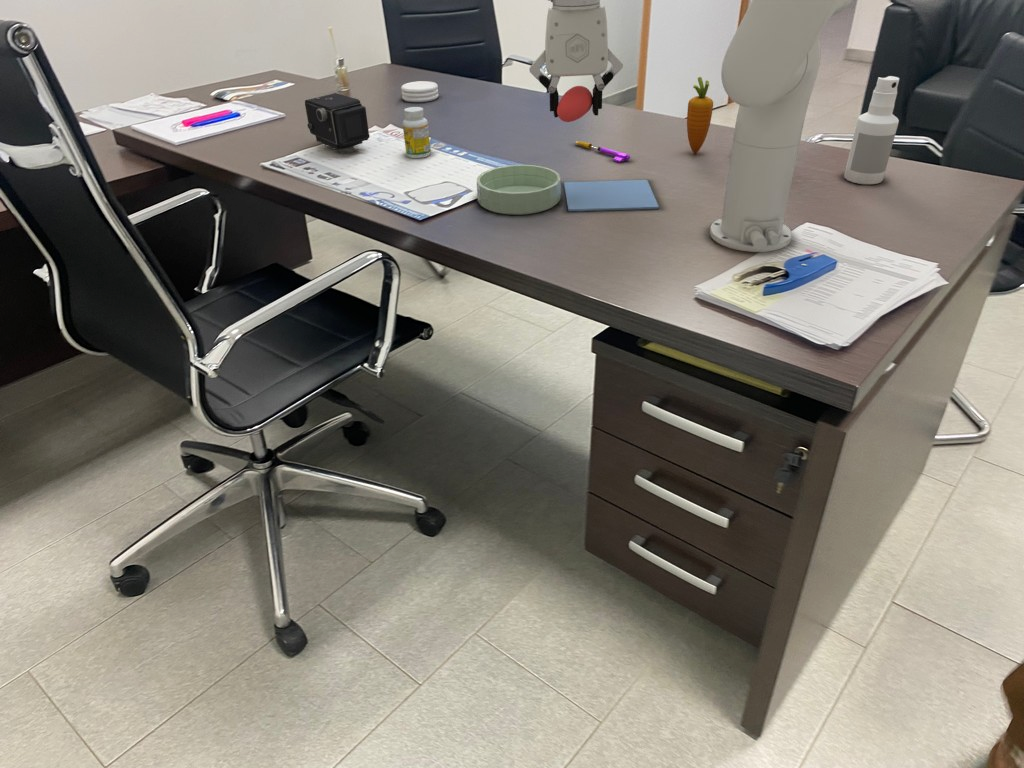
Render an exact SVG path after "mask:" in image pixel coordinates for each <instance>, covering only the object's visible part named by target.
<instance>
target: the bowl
mask: <svg viewBox="0 0 1024 768" xmlns="http://www.w3.org/2000/svg"><path fill="white" fill-rule="evenodd" d="M561 179H562V178H561V174H560V173H559V172H557V171H556V170H554V169H551V168H549V167H545V166H541V165H534V164H510V165H509V164H508V165H503V166H497V167H494V168H490V169H488V170H486V171H483V172H481V173H480V174H479V175H478V176H477V177H476V195H477V196H476V197H477V203H478V204H479V205H480V206H481V207H483V208H484V209H486V210H487V211H490V212H492V213H497V214H503V215H513V216H514V215H515V216H516V215H519V216H520V215H521V216H522V215H531V214H536V213H541V212H544V211H547V210H550V209H551V208H553V207H555V206H557V204H558V203H559V202H560V200H561V199H562V198H561V197H562V195H561V193H562V189H561V188H562V182H561V181H562V180H561Z"/></svg>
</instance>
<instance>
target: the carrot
mask: <svg viewBox="0 0 1024 768" xmlns="http://www.w3.org/2000/svg"><path fill="white" fill-rule="evenodd" d="M703 81H704V80H703V78H702V76H698V77H697V82H698V85H699V86H698V85H697V84H694V85H693V86H692V88H693V89H695V91H696V93H697V96H693V97H692V98H690V99H689V101H688V103H687V113H686V114H687V115H686V133H687V139H688V140H687V141H688V144H689V146H690V149H691V152H692V153H693V154H694V155H696V154H698V153H699V151H700V150H701V148H702V147H703V145H704V143H705V141H706V139H707V136H708V134H709V133H708V132H709V128H710V127H711V126H710V125H711V122H712V116H713V110H714V100H713V99H712V98H710V97H709V96H706V95H707V93H708V90H709V87H710V81H708V80H705V82H703Z"/></svg>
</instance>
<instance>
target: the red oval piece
mask: <svg viewBox="0 0 1024 768" xmlns="http://www.w3.org/2000/svg"><path fill="white" fill-rule="evenodd" d="M592 103H593V93H592V92H591V91H590V89H589V88H587V87H586V86H583V85H575V86H573V87H571V88H569V89H568V90H567V91H565V93H564V94H563V95H562V96H561V98H560V99H559V104H558V108H557V114H558V117H557V118H559V120H561V121H562V122H565V123H571V122H575V121H577V120H580V119H581V118H582V117H584V116H585V115H586V114H588V113H589V111H591V108H592Z"/></svg>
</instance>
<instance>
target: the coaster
mask: <svg viewBox="0 0 1024 768" xmlns="http://www.w3.org/2000/svg"><path fill="white" fill-rule="evenodd" d="M400 90H401V95H402V96H401V99H402V100H403V101H405V102H409V103H426V102H431V101H435V100H437V99H438V98H439V89H438V83H436V82H434V81H428V80H419V81H418V80H417V81H416V80H415V81H410V82H407V83H403V84H402V85H401V87H400Z"/></svg>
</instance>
